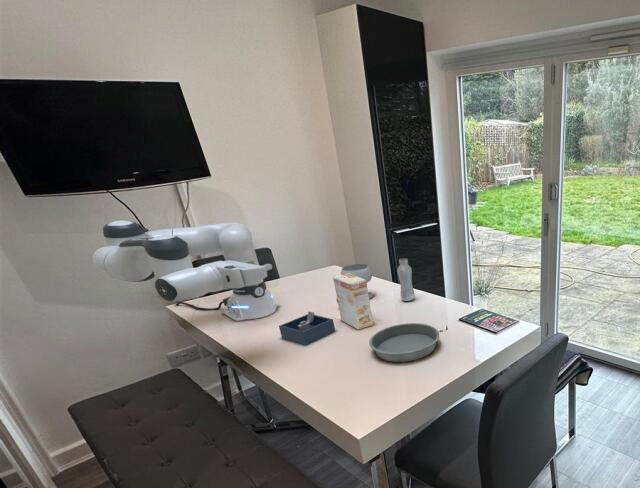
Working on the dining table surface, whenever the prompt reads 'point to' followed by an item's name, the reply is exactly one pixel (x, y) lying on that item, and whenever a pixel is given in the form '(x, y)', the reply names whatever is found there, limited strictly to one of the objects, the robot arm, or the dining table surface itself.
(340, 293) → the coffeecake box
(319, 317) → the basket
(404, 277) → the plastic bottle
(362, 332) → the dining table surface
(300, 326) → the lighter
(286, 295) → the dining table surface
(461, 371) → the dining table surface
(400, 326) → the cake pan
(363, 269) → the chalice
